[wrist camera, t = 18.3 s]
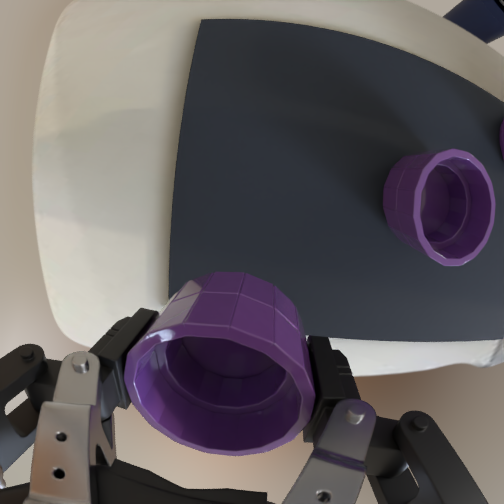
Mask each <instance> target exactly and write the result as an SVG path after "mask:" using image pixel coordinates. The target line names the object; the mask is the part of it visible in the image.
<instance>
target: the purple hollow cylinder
mask: <svg viewBox="0 0 504 504" xmlns="http://www.w3.org/2000/svg"><path fill="white" fill-rule="evenodd" d="M499 140H500V148H501V153H502V156H503V159H504V120H503V122H502V124H501V127H500V134H499Z"/></svg>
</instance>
